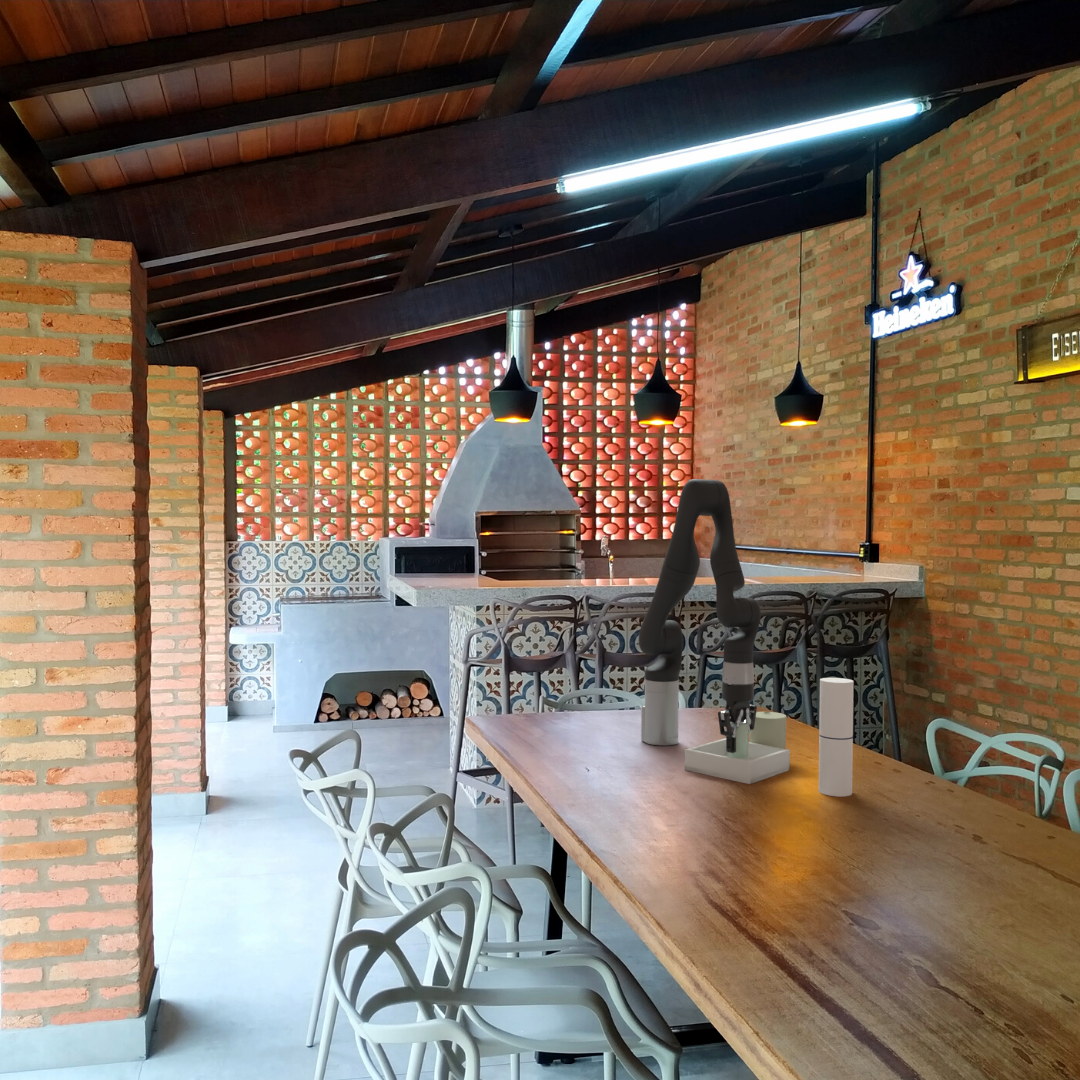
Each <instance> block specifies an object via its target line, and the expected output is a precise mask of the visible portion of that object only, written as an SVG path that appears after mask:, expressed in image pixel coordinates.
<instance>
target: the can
mask: <svg viewBox="0 0 1080 1080" xmlns="http://www.w3.org/2000/svg"><path fill="white" fill-rule="evenodd" d="M750 724H751V719H750ZM786 739H787V715H786V714H784V713H781V712H777V711H776V712H775V711H756V718H755V725H754V729H753V730H750V733H749V742H751V743H756V744H762V745H767V746H772V747H778V748H783V749H787V748H786V743H787V742H786V741H787V740H786Z"/></svg>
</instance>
